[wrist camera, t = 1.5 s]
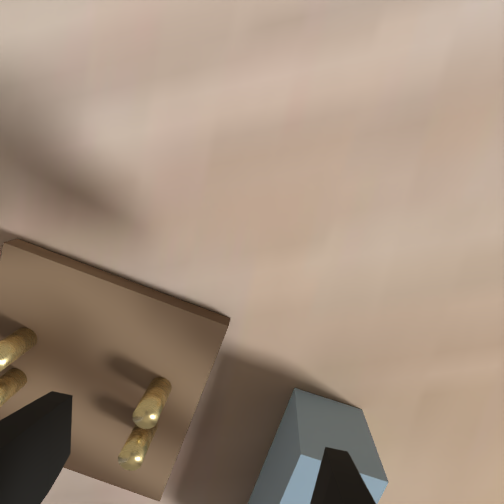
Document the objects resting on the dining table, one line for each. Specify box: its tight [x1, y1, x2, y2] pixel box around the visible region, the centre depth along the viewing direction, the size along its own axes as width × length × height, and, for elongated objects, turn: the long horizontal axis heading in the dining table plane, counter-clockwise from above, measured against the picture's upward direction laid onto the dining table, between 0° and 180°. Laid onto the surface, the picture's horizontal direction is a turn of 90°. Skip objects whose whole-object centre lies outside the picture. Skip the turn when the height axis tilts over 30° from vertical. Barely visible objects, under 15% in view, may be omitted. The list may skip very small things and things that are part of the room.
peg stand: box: [0, 239, 230, 501], centre depth 19 cm, size 12×12×4 cm
